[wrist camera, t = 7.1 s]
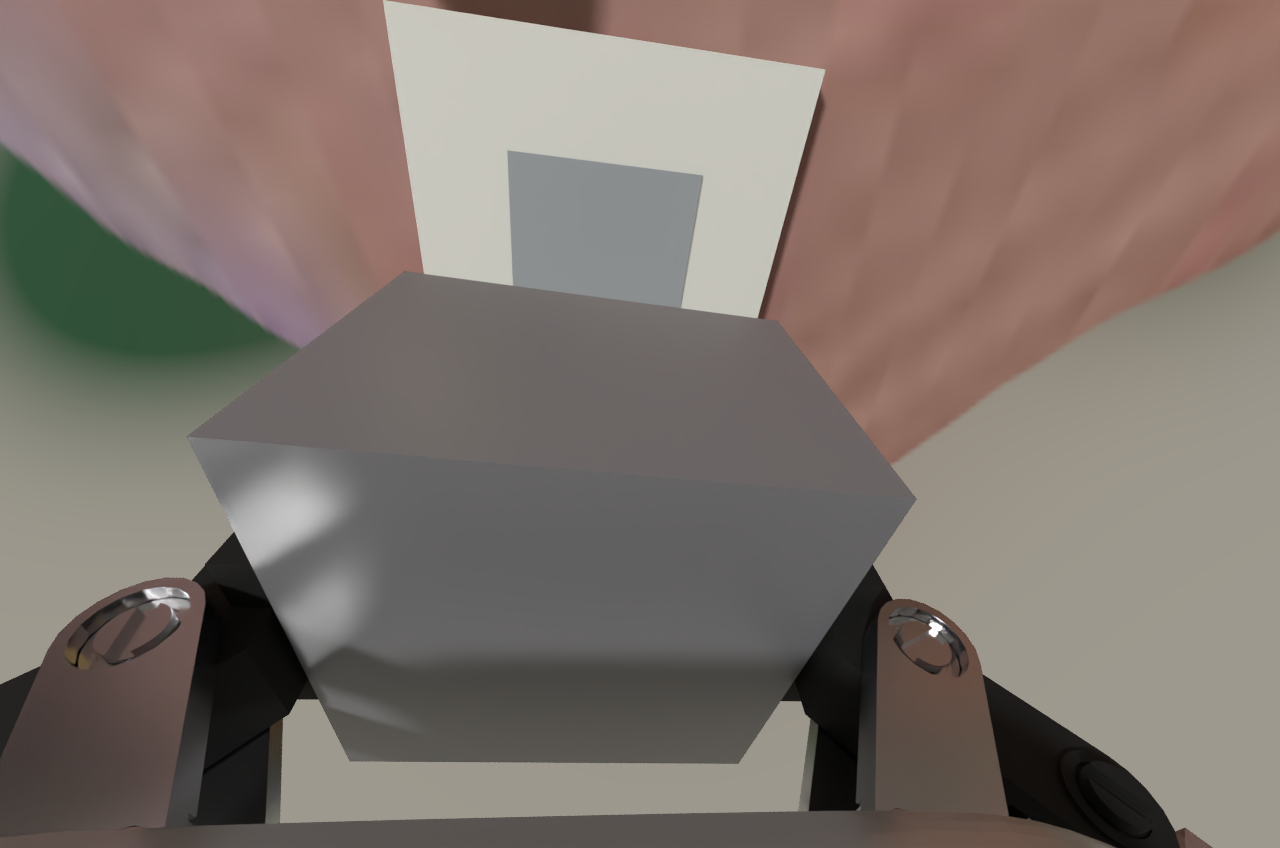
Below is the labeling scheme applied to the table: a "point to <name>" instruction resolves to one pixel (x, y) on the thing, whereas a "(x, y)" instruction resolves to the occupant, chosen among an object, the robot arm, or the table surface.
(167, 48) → the table surface
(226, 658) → the robot arm
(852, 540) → the charcoal brick
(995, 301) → the table surface
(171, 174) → the table surface
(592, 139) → the base plate
